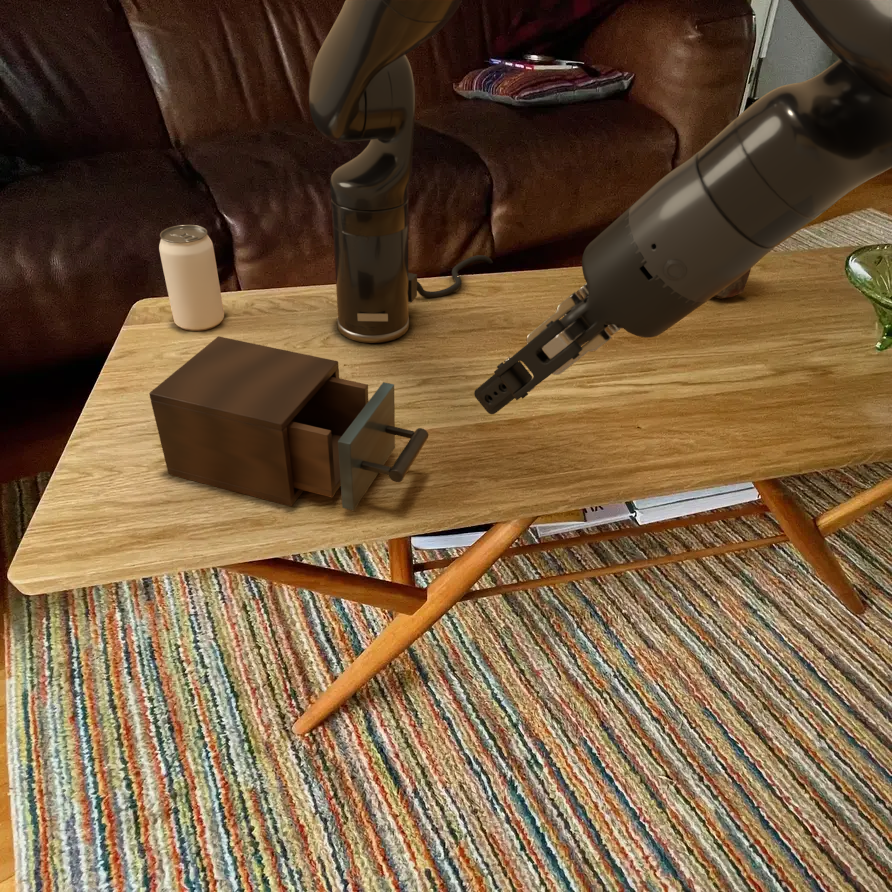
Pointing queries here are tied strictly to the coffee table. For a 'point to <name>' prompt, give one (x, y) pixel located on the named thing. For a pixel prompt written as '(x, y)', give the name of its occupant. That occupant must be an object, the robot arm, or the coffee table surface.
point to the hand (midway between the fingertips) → (511, 379)
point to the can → (191, 277)
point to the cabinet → (237, 416)
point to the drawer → (348, 440)
